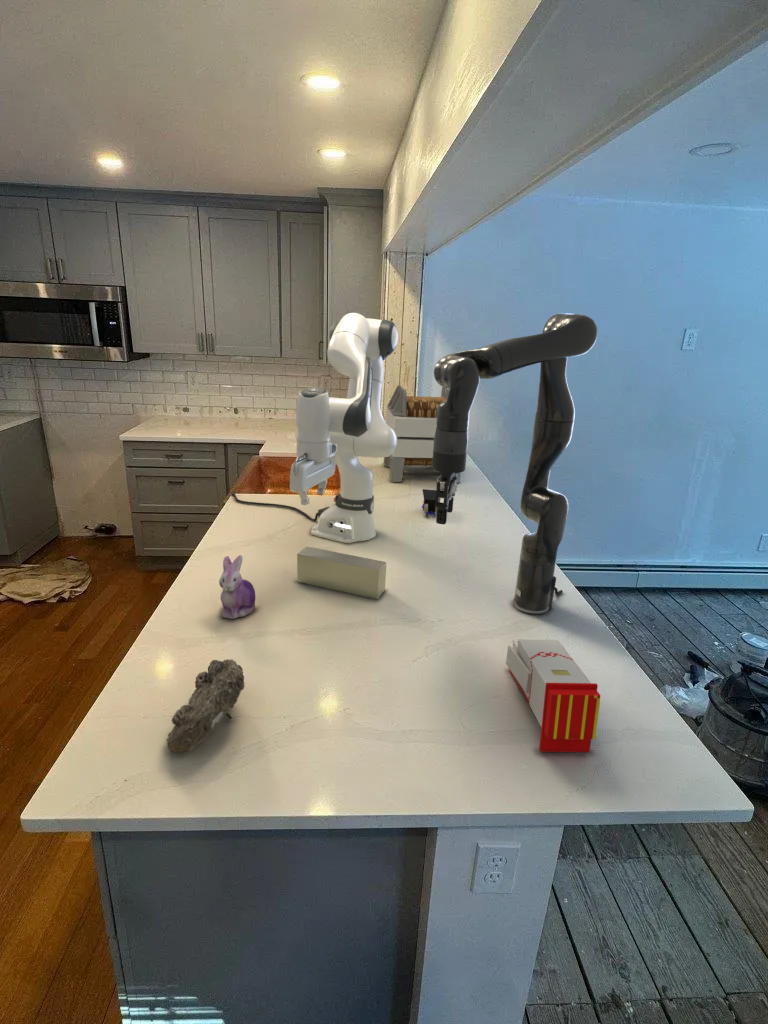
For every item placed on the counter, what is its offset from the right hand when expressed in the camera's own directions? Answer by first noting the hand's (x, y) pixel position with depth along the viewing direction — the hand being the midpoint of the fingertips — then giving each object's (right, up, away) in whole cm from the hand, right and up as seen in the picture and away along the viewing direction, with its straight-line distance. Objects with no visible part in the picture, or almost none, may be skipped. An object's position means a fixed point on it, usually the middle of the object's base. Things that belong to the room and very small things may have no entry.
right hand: (444, 517), depth 131 cm
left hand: (-33, +5, +24) cm, 41 cm away
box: (-26, -20, +30) cm, 44 cm away
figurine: (-51, -24, +14) cm, 59 cm away
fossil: (-47, -38, -23) cm, 64 cm away
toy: (+18, -38, -15) cm, 45 cm away
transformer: (+3, +20, +144) cm, 145 cm away
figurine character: (+4, +1, +91) cm, 91 cm away
